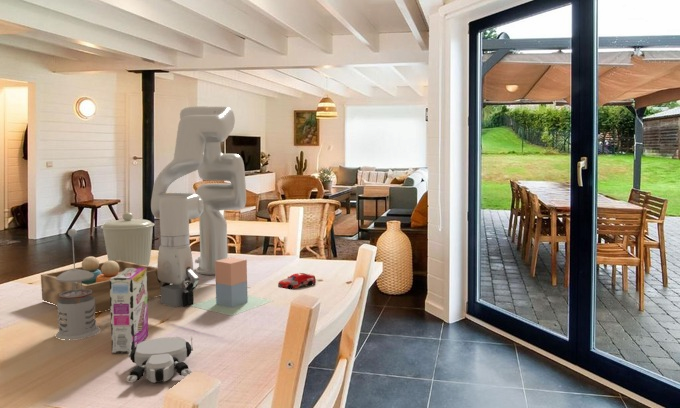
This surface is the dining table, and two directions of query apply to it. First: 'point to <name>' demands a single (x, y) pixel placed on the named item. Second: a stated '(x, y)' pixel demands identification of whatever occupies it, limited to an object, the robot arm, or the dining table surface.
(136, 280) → the candy bar box
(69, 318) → the french press
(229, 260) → the brick
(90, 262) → the wooden peg doll toy
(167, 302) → the gray cube
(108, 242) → the canister
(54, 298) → the wooden tray
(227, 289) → the base brick
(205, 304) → the board
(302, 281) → the race car
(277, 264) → the dining table surface
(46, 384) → the dining table surface
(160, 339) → the robot toy
